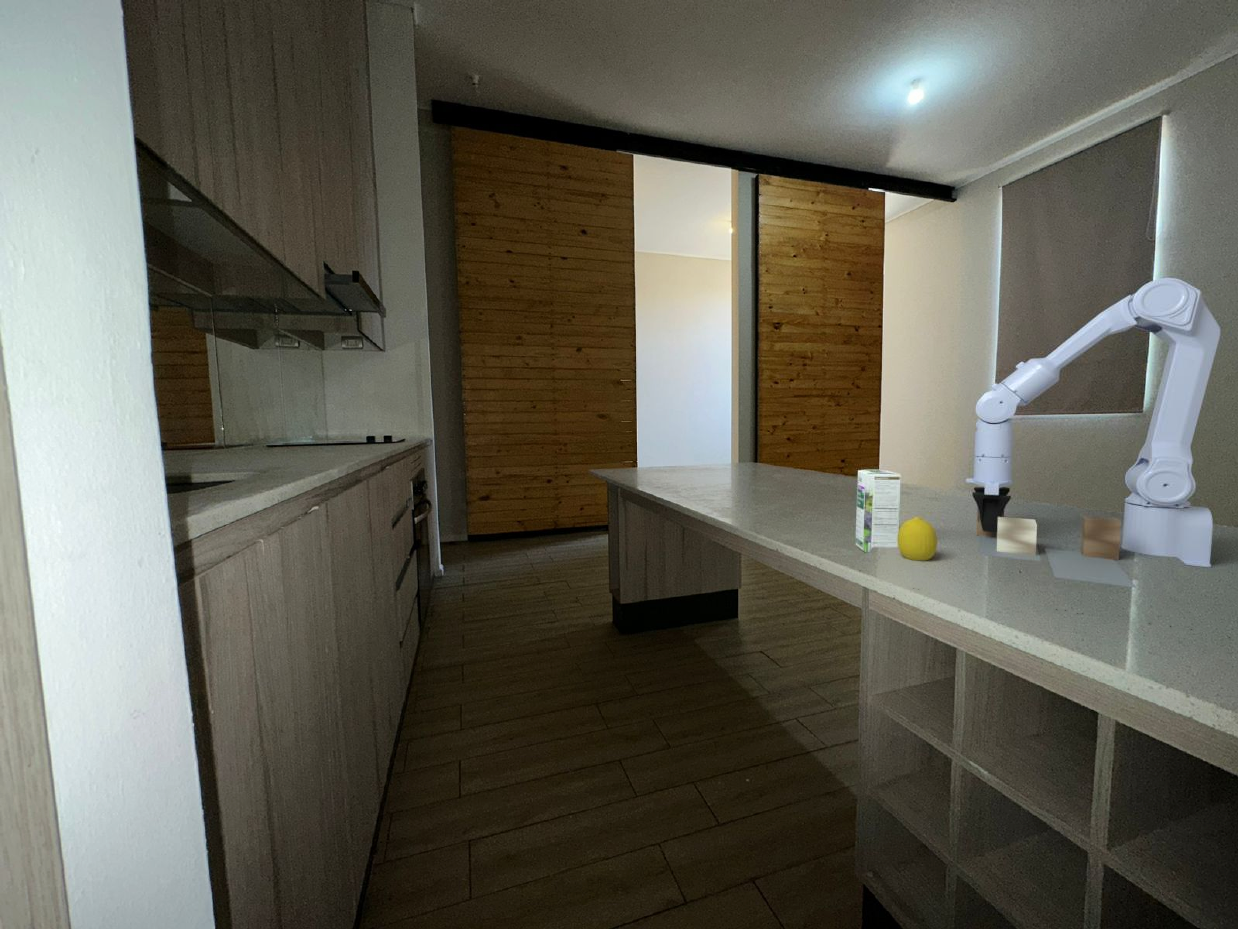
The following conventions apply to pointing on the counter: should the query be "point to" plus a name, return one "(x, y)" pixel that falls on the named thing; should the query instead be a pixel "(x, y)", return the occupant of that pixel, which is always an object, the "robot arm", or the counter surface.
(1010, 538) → the block
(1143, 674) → the counter surface
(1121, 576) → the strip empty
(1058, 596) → the counter surface
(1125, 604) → the counter surface
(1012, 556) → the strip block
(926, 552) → the lemon
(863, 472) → the syrup box
